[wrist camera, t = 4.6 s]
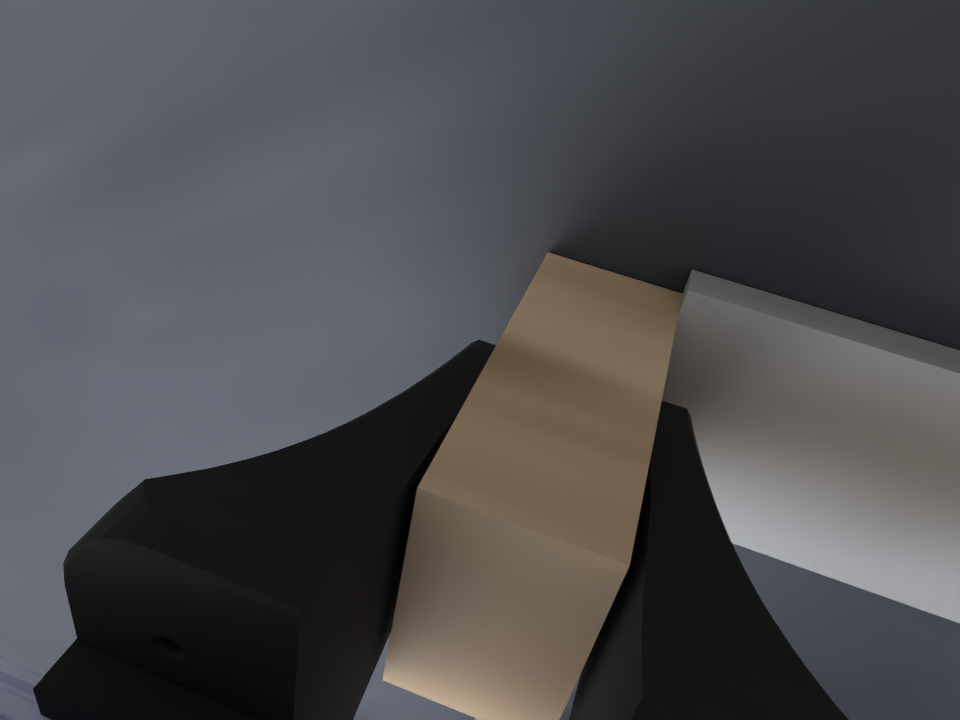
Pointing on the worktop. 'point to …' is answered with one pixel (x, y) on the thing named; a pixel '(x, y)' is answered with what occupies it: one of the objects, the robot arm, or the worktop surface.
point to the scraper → (625, 462)
